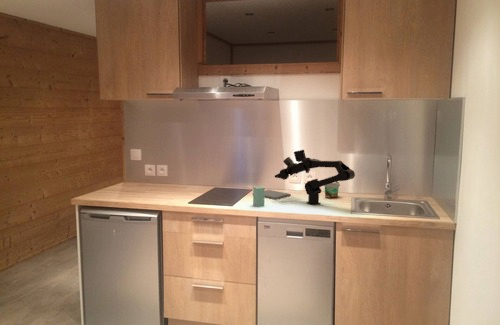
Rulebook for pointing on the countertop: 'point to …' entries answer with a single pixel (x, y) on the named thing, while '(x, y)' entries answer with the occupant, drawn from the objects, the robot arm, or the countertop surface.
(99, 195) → the countertop surface
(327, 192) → the food container
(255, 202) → the block
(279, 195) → the mat
